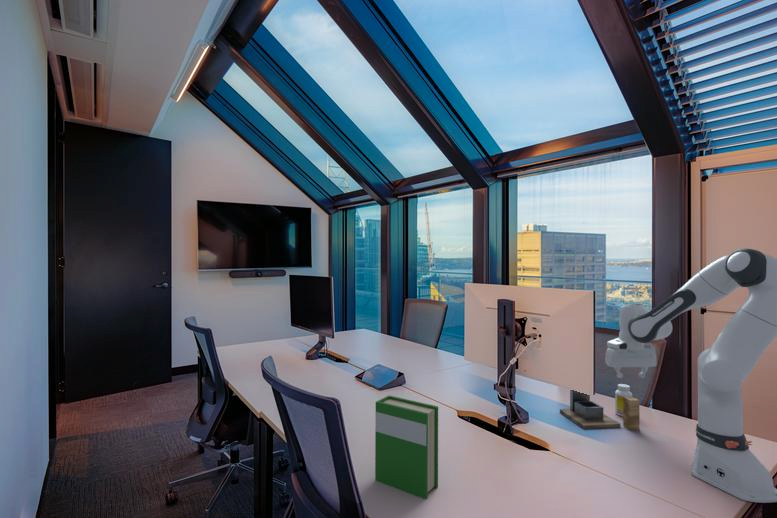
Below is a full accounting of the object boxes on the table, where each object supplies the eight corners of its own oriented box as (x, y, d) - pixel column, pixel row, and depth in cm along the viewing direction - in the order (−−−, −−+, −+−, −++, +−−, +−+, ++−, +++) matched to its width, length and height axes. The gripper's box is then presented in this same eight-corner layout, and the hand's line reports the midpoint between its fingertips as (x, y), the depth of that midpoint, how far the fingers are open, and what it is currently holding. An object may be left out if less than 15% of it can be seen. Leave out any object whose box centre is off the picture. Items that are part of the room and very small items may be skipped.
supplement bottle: (635, 418, 174) (635, 388, 174) (618, 416, 175) (618, 387, 175) (629, 412, 180) (629, 383, 180) (613, 411, 181) (613, 382, 182)
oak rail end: (639, 430, 161) (639, 400, 161) (630, 430, 161) (630, 400, 161) (632, 426, 165) (632, 396, 165) (623, 426, 165) (623, 397, 165)
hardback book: (437, 487, 119) (438, 406, 120) (426, 499, 113) (426, 414, 113) (388, 470, 129) (388, 395, 129) (375, 480, 123) (375, 401, 123)
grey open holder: (603, 419, 168) (603, 385, 168) (585, 420, 167) (585, 386, 167) (587, 409, 180) (587, 378, 180) (570, 410, 179) (570, 378, 179)
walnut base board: (620, 427, 163) (620, 423, 163) (583, 429, 162) (583, 425, 162) (593, 411, 181) (593, 407, 181) (559, 412, 180) (559, 409, 180)
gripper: (649, 341, 167) (648, 374, 167) (603, 342, 165) (602, 375, 165) (661, 345, 161) (660, 379, 161) (613, 345, 159) (612, 380, 159)
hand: (630, 377), depth 163 cm, fingers open, 8 cm apart
